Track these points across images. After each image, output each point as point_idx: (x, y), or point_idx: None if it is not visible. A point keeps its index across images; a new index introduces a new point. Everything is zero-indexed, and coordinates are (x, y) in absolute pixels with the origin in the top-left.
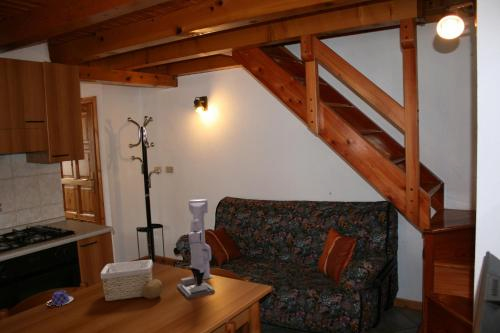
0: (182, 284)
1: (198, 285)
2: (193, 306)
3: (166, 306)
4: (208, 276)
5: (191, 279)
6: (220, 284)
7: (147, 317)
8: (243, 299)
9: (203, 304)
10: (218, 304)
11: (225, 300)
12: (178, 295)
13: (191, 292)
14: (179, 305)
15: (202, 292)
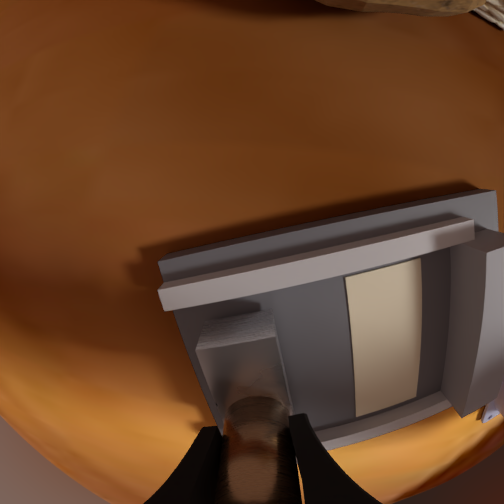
0: (460, 240)
1: (224, 418)
2: (32, 282)
3: (84, 74)
4: (495, 407)
5: (474, 343)
6: (364, 468)
7: (12, 14)
8: (111, 492)
9: (54, 348)
10: (56, 411)
11: (103, 451)
12: (300, 171)
13: (243, 312)
14: (63, 177)
15: (206, 397)
